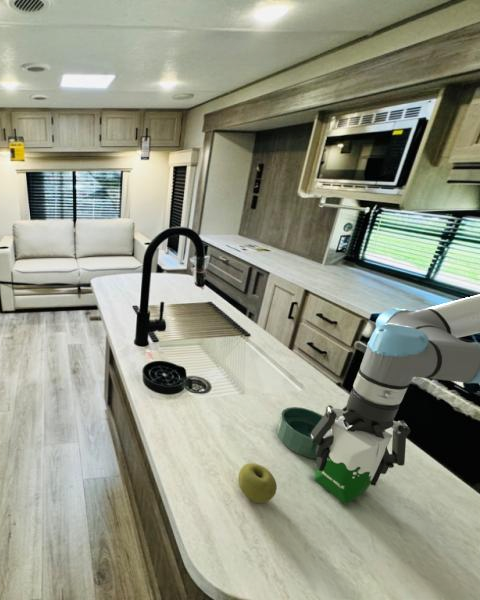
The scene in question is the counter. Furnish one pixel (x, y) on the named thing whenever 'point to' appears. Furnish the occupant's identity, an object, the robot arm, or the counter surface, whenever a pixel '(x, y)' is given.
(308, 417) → the green bowl
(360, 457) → the soya milk
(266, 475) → the apple
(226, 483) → the counter surface
